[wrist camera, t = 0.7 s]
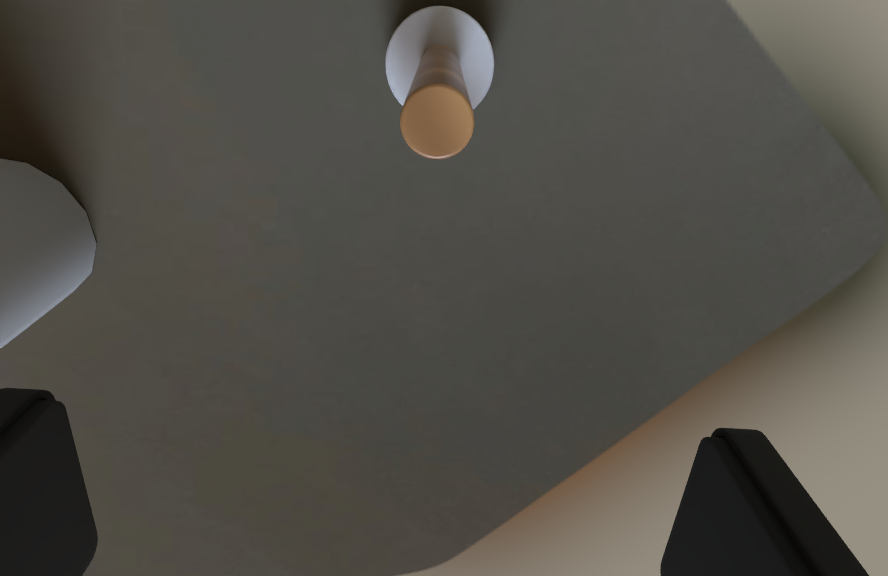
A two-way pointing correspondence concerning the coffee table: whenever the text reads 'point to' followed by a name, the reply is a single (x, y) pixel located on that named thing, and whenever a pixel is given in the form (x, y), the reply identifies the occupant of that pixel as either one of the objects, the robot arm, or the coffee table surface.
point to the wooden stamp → (439, 78)
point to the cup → (38, 246)
